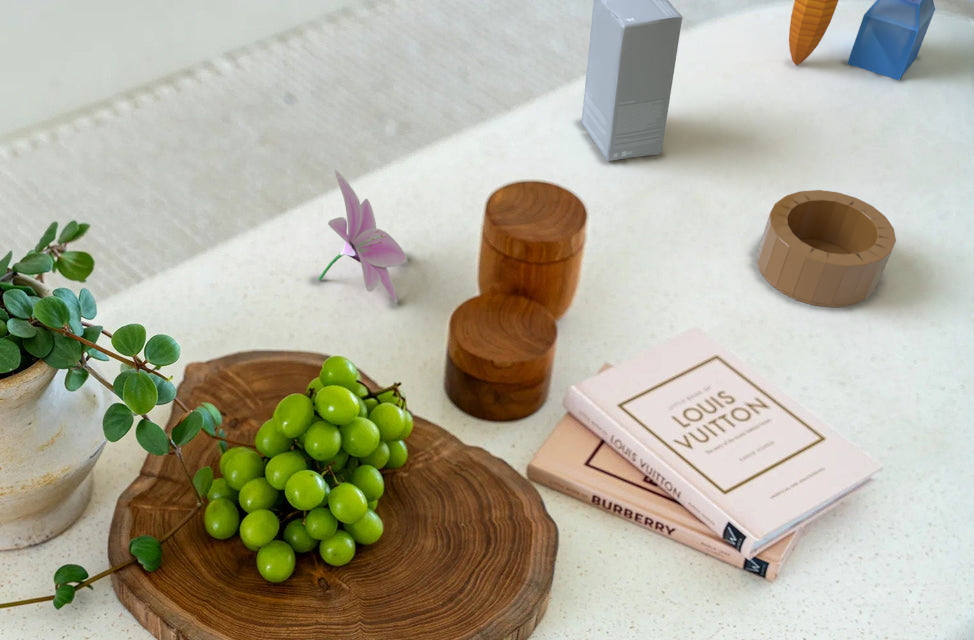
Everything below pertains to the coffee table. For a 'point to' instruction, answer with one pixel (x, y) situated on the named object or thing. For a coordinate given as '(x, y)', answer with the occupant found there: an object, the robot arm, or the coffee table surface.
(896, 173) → the coffee table surface
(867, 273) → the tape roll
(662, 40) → the cosmetic box
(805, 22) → the carrot
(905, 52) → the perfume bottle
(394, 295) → the lily
